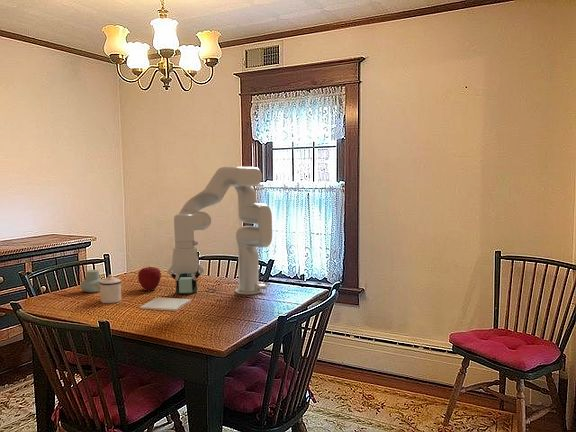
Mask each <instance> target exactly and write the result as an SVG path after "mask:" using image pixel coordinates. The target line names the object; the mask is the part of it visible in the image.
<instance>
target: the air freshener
mask: <svg viewBox="0 0 576 432" xmlns="http://www.w3.org/2000/svg"><path fill="white" fill-rule="evenodd" d="M101 280H102V279H101V278H100V271H99V270H98V269H89V270H86V271H85V279H84V280H83V281H81V283H80V289H81V290H82V291H83V292H86V293H90V294H91V293H92V294H93V293H100V291H99V285H100V281H101Z"/></svg>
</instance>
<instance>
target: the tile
mask: <svg viewBox="0 0 576 432" xmlns="http://www.w3.org/2000/svg"><path fill="white" fill-rule="evenodd" d="M190 302H192V299H191V298H188V299H187V298H175V297H155V298H154V299H152V300H150V301H148V302H147V303H144V304H143V305H140V306H139V309H141V310H154V311H155V310H156V311H157V310H158V311H171V312H176V311H178V310H180V309H181V308H183V307H184V306H186V305H187V304H189V303H190Z"/></svg>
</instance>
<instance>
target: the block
mask: <svg viewBox="0 0 576 432" xmlns="http://www.w3.org/2000/svg"><path fill="white" fill-rule="evenodd" d="M192 279H193V278H192V277H181V278H180V279H179V293H191V292H192V291H193V290H192ZM191 294H192V293H191Z"/></svg>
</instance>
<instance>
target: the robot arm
mask: <svg viewBox="0 0 576 432" xmlns="http://www.w3.org/2000/svg"><path fill="white" fill-rule="evenodd" d="M262 178H263V174H262V172H261V170H260V169H259V167H255V166H222V167H219V168H217V170H216V171H215V173H214V174H213V176H212V177H211V178H210V181H208V183H207V185H206V186H205V188H204V189H203V190H202V191H200V192H198V193H196V195H194V196H192V197H191V198H190V199H188V200H187V201H186V202H185V203H184V205H183V206H182V207H181V209H180V211H179V213H177V214H175V215H174V217H173V227H174V229H173V230H174V247H173V250H172V262H171V266H170V268H169V269H168V270H166V274H168V275H169V276H170V277H171V278H173V279H174V280H175V289H176V288H178V291H179V279H180V278H179V277H180V274H183V273H191V275H192V278H193V279H192V290H194V289H195V288H196V282H197V279H198V278H199V277H200V276H202V275H203V273H205V269H204V268H203V266H201V265H200V262H199V254H198V249H197V247H196V246H198V245H199V241H196V240H195V235H194V234H195V231H205V230H207V229H208V228H209V227H210V226H211V224H212V218H211V215H209V214H208V213H207V212H205V211H202V210H203V209H206V208H208V207H211V206H214V205H217V204H219V203H220V202H221V201H222V200H223V198H224V196H225V195H226V193H227V192H228V190H229V189H230V187H233V188H234V189H235V190H236V193H237V203H238V206H237V207H238V209H237V210H238V217H239V218H238V219H239V221H240V222H242V223H244V224H254V225H244V226H243V225H242V226H240V227H238V229H237V230H236V232H235V239H236V244H237V257H238V265H237V267H238V268H237V269H238V272H237V273H238V279H237V280H238V287H237V288H235V289H234V290H235V291H234V292H235V293H236V294H238V295H249V296H250V295H257V294H258V295H259V294H260V293H262V290H267V289H268V285H266V284H261V281H259V252H258V250H257V249H256V248H268V247H269V246H270V245H271V243H272V241H273V240H272V239H273V217H272V216H273V215H272V214H273V213H272V210H271V208H270V207H269V205H268V204H266V203H257V194H256V192H257V191H256V189H255V187H256V186H259V184H261V182H262ZM255 225H257V226H255ZM198 270H199V271H198Z"/></svg>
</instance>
